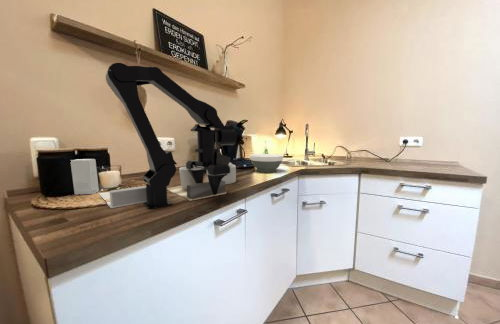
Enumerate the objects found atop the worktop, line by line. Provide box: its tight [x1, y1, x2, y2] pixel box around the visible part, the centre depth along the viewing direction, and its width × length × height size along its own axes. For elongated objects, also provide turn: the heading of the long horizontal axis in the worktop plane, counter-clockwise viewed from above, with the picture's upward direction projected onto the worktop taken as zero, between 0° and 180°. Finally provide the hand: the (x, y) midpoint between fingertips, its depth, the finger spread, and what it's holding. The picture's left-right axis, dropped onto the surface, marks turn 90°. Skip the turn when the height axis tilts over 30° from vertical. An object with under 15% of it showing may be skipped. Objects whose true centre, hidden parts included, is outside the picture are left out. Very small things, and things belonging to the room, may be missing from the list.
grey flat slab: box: [98, 185, 147, 209], centre depth 74 cm, size 20×14×4 cm
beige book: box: [167, 180, 228, 202], centre depth 81 cm, size 20×14×4 cm
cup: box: [178, 166, 196, 190], centre depth 85 cm, size 11×8×8 cm
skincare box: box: [70, 158, 100, 196], centre depth 78 cm, size 6×4×12 cm
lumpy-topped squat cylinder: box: [206, 162, 237, 185], centre depth 99 cm, size 10×13×9 cm
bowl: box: [249, 153, 284, 174], centre depth 130 cm, size 20×20×10 cm
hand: (207, 192), depth 75 cm, fingers open, 9 cm apart
